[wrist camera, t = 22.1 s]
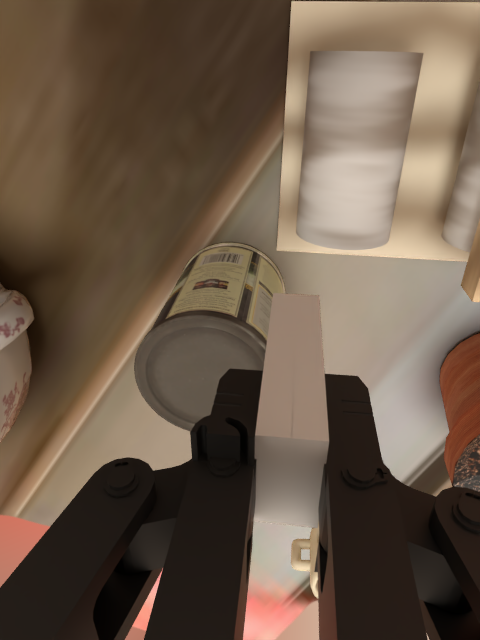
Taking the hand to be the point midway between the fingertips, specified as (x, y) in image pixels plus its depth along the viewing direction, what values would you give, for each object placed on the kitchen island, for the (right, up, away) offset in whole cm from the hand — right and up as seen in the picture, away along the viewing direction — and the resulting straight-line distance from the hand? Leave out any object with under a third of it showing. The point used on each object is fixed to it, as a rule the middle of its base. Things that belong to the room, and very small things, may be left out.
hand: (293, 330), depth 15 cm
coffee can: (-2, +3, +29) cm, 29 cm away
